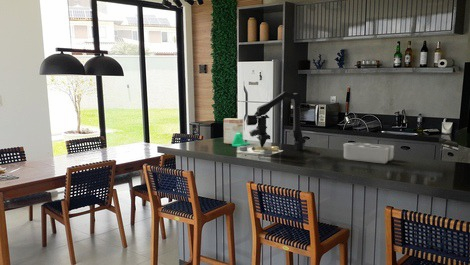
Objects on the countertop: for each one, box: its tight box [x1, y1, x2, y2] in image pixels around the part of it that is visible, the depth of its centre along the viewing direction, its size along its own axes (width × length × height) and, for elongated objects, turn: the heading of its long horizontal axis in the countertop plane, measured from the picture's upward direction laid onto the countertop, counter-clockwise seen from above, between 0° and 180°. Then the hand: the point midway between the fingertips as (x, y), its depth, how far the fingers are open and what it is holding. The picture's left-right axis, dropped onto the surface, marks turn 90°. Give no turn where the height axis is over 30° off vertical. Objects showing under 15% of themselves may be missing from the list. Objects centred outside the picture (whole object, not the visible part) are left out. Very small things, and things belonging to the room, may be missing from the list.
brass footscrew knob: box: [251, 145, 280, 151], centre depth 271 cm, size 18×6×3 cm, turn 96°
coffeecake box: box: [223, 117, 244, 145], centre depth 316 cm, size 15×7×20 cm, turn 46°
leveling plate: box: [235, 145, 283, 158], centre depth 272 cm, size 26×19×4 cm
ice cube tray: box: [343, 142, 395, 164], centre depth 248 cm, size 17×28×9 cm, turn 53°
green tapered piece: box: [231, 133, 251, 148], centre depth 301 cm, size 12×8×10 cm, turn 138°
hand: (261, 147), depth 273 cm, fingers closed
